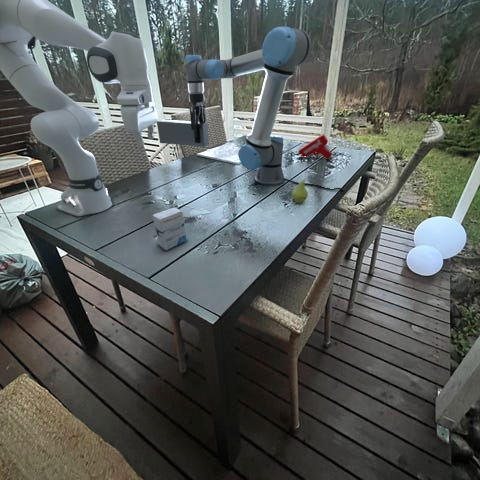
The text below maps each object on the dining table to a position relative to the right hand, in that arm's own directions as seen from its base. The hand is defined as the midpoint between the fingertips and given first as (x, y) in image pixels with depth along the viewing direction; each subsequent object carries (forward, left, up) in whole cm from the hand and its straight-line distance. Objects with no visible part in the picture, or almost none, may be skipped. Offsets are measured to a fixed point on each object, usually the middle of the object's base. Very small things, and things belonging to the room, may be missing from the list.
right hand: (200, 141), depth 146 cm
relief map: (-2, -39, -18) cm, 43 cm away
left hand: (-8, +56, +13) cm, 58 cm away
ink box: (-21, +70, -18) cm, 75 cm away
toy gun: (-58, -48, -18) cm, 77 cm away
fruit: (-58, +23, -18) cm, 65 cm away
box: (+10, 0, -2) cm, 10 cm away
